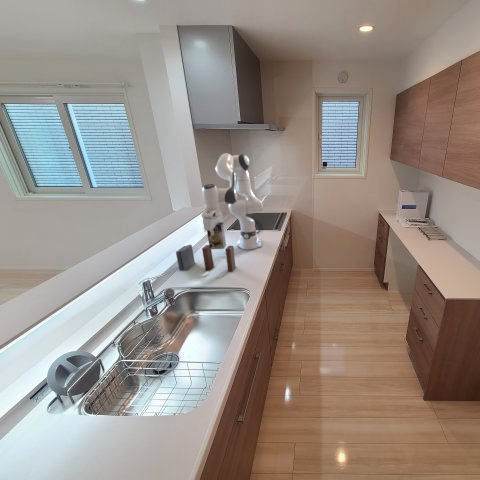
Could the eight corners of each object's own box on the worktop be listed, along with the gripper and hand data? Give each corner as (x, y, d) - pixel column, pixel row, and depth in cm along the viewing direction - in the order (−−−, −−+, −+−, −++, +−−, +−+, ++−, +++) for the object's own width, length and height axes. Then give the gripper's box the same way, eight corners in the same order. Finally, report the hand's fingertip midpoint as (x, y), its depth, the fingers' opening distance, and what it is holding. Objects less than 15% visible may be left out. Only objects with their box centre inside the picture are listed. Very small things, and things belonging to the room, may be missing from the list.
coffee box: (209, 249, 157) (205, 225, 151) (212, 246, 163) (208, 222, 157) (224, 248, 158) (220, 224, 153) (226, 245, 164) (223, 222, 159)
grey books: (187, 263, 173) (183, 244, 168) (194, 263, 173) (191, 244, 168) (179, 269, 164) (175, 250, 159) (187, 270, 164) (183, 250, 159)
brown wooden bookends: (209, 266, 169) (206, 244, 163) (235, 267, 169) (233, 245, 163) (205, 270, 164) (202, 248, 158) (232, 271, 163) (230, 249, 158)
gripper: (214, 207, 162) (217, 227, 167) (199, 215, 143) (203, 238, 148) (224, 207, 162) (226, 227, 167) (210, 216, 143) (213, 238, 148)
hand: (215, 232), depth 157 cm, fingers closed on coffee box, 7 cm apart
